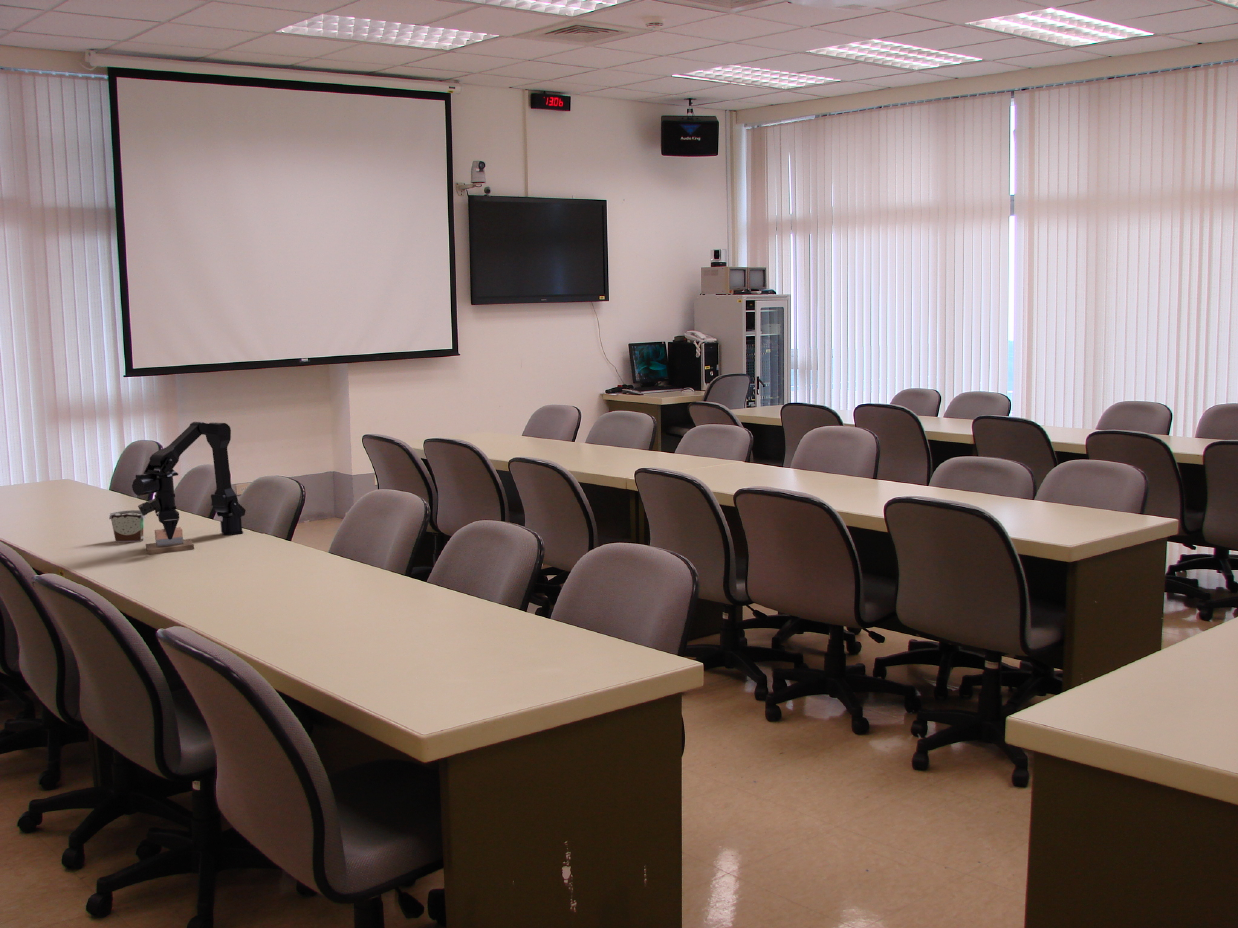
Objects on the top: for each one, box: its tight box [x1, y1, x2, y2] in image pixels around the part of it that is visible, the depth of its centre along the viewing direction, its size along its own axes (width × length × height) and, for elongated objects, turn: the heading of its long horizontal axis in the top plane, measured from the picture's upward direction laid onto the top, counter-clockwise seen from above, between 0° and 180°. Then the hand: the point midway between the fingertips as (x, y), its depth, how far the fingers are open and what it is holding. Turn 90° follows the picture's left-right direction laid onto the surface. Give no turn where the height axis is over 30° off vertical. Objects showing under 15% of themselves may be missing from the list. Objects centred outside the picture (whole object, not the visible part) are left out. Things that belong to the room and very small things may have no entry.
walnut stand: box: [145, 538, 195, 555], centre depth 364 cm, size 14×11×2 cm
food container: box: [109, 509, 146, 543], centre depth 380 cm, size 12×6×10 cm, turn 84°
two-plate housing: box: [154, 526, 184, 547], centre depth 363 cm, size 5×8×5 cm, turn 119°
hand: (169, 536), depth 363 cm, fingers open, 9 cm apart
